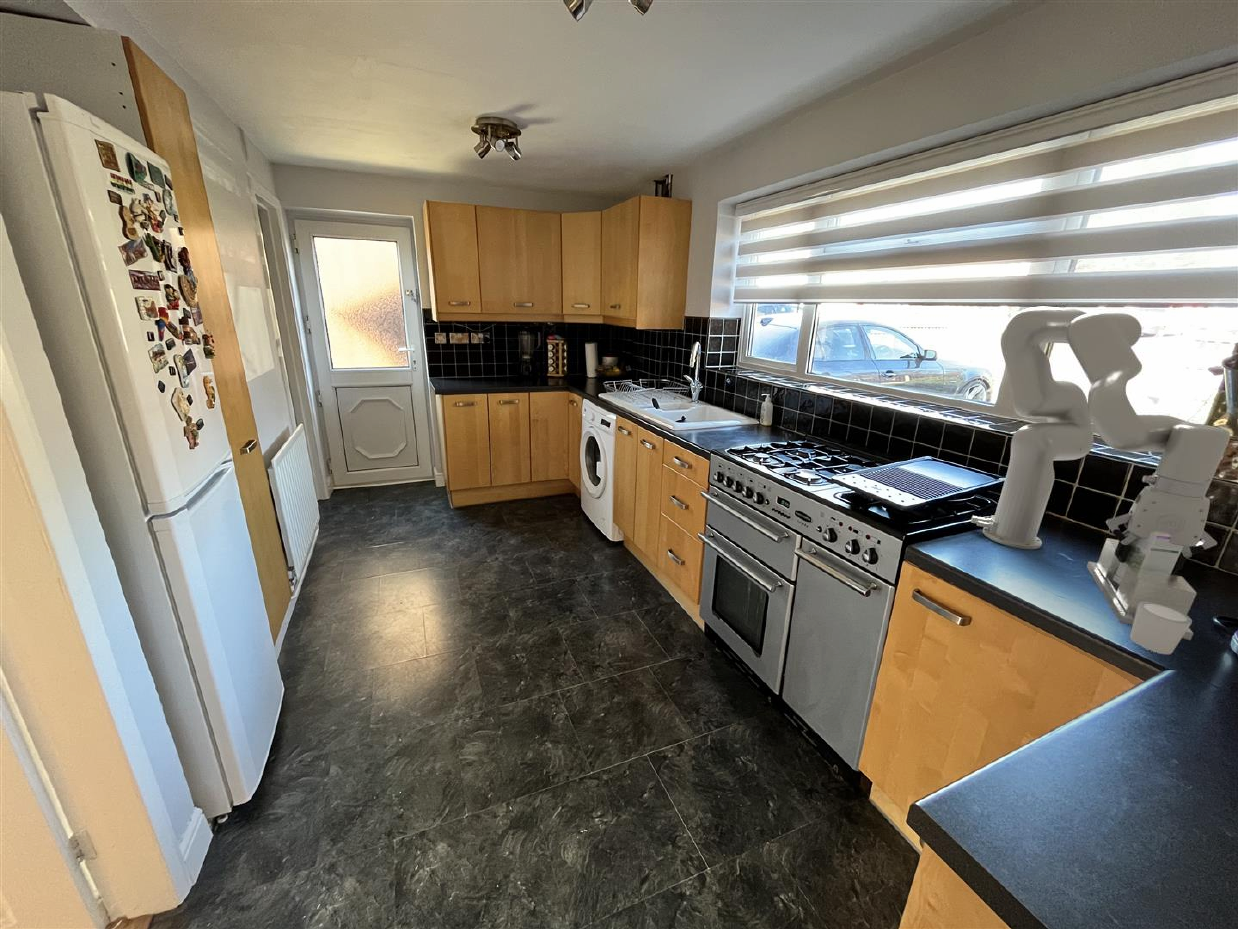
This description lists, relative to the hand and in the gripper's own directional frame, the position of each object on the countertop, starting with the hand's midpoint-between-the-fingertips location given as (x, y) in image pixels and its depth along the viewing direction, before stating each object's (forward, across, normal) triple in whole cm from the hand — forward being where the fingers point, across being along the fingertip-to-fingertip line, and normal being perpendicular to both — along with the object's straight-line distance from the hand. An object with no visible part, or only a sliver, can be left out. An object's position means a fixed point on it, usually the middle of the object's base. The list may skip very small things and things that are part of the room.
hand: (1145, 564), depth 105 cm
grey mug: (+8, -2, -19) cm, 21 cm away
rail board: (+8, 0, 0) cm, 8 cm away
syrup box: (+6, 0, 0) cm, 6 cm away
